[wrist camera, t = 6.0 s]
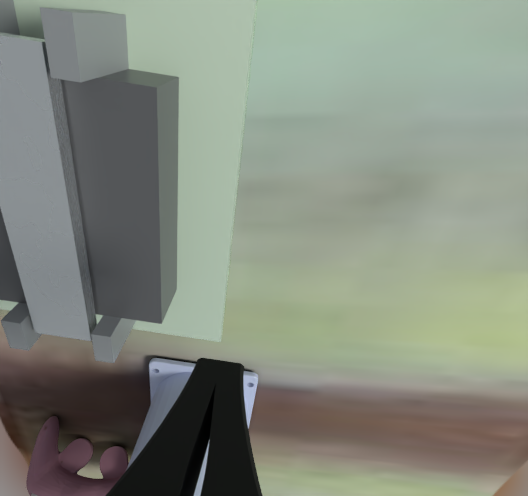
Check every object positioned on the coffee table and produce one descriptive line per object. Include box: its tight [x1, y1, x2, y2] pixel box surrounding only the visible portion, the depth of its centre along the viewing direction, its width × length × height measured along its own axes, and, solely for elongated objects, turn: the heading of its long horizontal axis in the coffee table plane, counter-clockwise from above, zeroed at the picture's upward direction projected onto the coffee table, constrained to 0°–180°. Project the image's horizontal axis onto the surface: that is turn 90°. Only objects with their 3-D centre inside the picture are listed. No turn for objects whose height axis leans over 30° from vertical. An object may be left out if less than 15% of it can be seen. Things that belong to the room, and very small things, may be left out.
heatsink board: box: [0, 0, 257, 363], centre depth 17 cm, size 20×16×5 cm
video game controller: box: [27, 416, 129, 496], centre depth 31 cm, size 10×5×7 cm, turn 75°
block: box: [0, 32, 97, 341], centre depth 16 cm, size 14×3×1 cm, turn 172°
